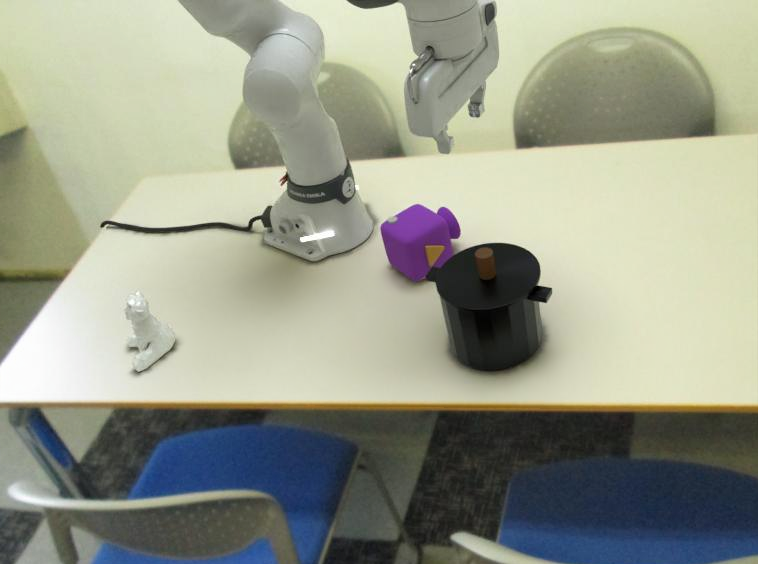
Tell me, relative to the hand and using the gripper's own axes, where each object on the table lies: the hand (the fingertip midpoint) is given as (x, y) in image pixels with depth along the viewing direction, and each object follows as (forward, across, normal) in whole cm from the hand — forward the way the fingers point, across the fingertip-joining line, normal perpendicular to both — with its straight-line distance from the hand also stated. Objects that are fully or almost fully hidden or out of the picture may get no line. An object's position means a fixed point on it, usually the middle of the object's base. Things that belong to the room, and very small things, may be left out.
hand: (462, 132), depth 109 cm
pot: (+33, -5, -3) cm, 34 cm away
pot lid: (+21, -5, -3) cm, 21 cm away
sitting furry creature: (+33, -25, +55) cm, 69 cm away
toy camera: (+33, +11, +18) cm, 39 cm away
